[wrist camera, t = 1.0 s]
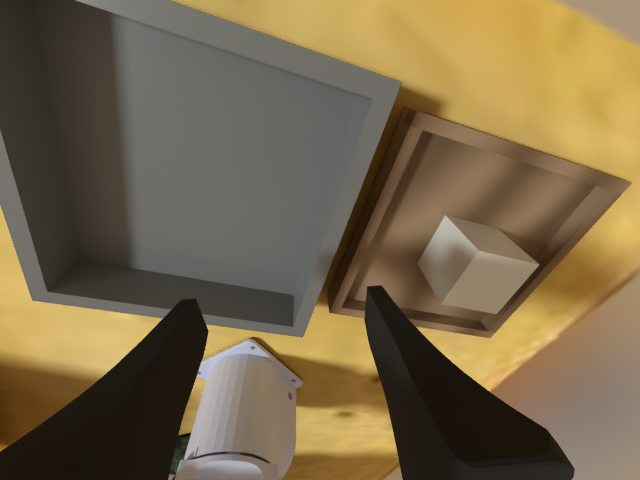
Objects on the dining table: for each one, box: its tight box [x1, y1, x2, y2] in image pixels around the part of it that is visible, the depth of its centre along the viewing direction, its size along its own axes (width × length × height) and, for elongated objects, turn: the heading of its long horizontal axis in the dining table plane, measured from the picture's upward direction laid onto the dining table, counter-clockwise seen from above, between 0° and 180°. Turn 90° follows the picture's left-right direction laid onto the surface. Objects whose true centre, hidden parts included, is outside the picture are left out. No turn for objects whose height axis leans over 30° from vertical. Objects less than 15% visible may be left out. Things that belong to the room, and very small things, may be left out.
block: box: [417, 215, 539, 314], centre depth 20 cm, size 4×4×4 cm
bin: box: [0, 0, 402, 337], centre depth 17 cm, size 18×18×4 cm
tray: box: [327, 106, 632, 338], centre depth 22 cm, size 16×16×2 cm
